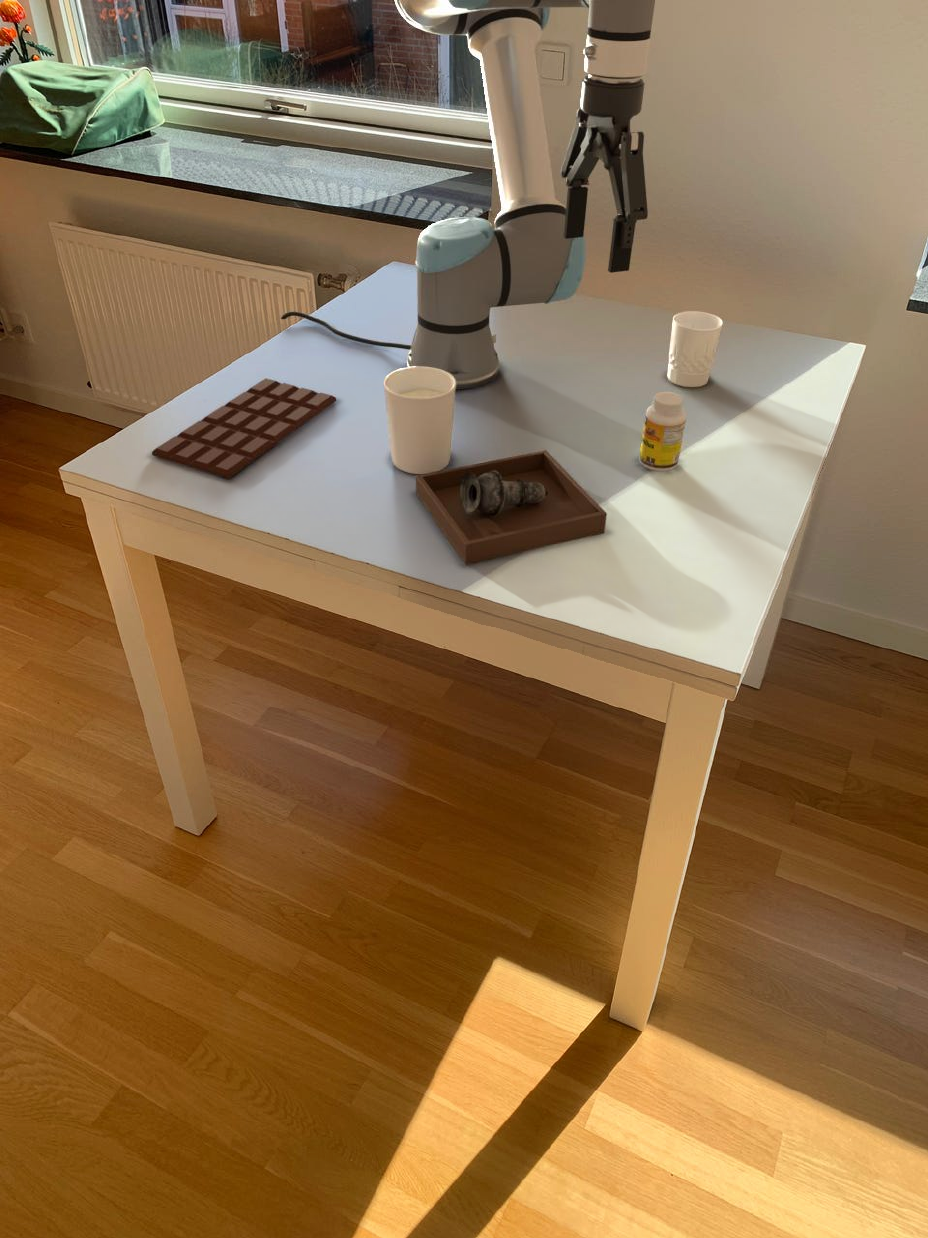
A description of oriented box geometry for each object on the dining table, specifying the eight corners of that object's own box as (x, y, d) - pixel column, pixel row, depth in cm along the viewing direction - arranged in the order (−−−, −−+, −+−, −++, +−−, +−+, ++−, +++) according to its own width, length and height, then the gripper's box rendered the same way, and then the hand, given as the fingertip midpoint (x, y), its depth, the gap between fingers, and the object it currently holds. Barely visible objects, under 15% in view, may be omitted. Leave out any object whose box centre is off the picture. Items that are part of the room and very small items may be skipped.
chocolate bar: (265, 382, 156) (265, 376, 155) (336, 400, 151) (335, 394, 151) (152, 455, 137) (150, 448, 136) (229, 478, 132) (228, 472, 132)
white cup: (658, 369, 163) (667, 311, 156) (704, 368, 163) (715, 310, 157) (670, 389, 157) (680, 330, 150) (717, 388, 157) (729, 329, 151)
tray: (465, 564, 118) (465, 544, 116) (415, 494, 130) (415, 475, 129) (604, 532, 124) (607, 513, 122) (544, 468, 136) (546, 449, 135)
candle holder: (404, 483, 132) (402, 403, 125) (375, 451, 139) (372, 374, 132) (467, 467, 136) (469, 389, 129) (436, 437, 143) (436, 361, 135)
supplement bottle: (633, 455, 140) (642, 389, 133) (669, 452, 141) (680, 387, 134) (645, 474, 136) (656, 408, 129) (683, 471, 136) (695, 405, 130)
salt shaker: (457, 474, 126) (535, 474, 131) (460, 519, 126) (538, 517, 131) (478, 466, 120) (559, 467, 126) (481, 513, 120) (562, 512, 126)
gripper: (543, 58, 125) (532, 226, 138) (635, 100, 107) (612, 289, 121) (595, 55, 127) (579, 221, 141) (694, 97, 109) (665, 282, 123)
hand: (595, 253), depth 131 cm, fingers open, 13 cm apart
